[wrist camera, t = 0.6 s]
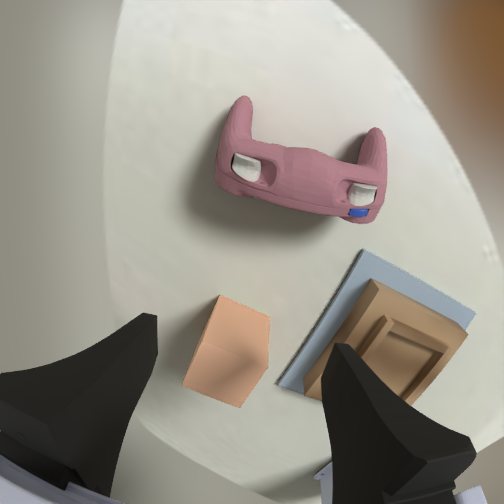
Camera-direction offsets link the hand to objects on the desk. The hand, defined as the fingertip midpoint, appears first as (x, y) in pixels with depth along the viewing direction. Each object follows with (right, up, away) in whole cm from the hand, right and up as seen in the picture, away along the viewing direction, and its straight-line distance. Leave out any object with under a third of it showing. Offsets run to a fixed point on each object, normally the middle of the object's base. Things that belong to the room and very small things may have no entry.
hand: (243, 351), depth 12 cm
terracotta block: (-1, -2, +11) cm, 11 cm away
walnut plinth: (+11, -4, +11) cm, 16 cm away
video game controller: (+4, +10, +7) cm, 13 cm away
